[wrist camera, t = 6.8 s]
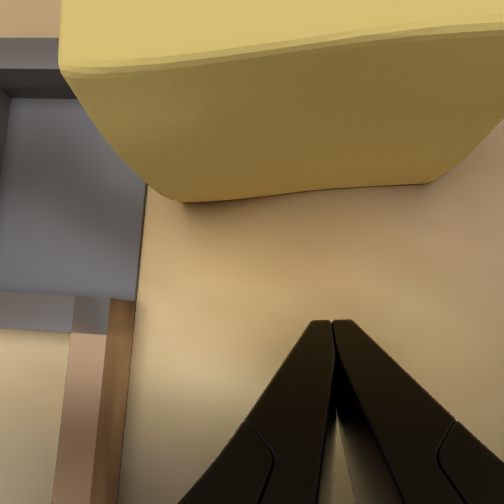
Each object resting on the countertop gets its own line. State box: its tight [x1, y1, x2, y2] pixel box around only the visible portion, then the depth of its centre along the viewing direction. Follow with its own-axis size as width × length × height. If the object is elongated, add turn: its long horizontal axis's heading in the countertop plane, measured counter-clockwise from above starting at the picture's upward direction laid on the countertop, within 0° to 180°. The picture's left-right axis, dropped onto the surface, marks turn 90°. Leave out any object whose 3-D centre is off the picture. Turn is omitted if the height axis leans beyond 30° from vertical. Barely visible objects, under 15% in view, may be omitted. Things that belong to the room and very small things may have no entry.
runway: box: [0, 38, 147, 504], centre depth 15 cm, size 22×29×4 cm
